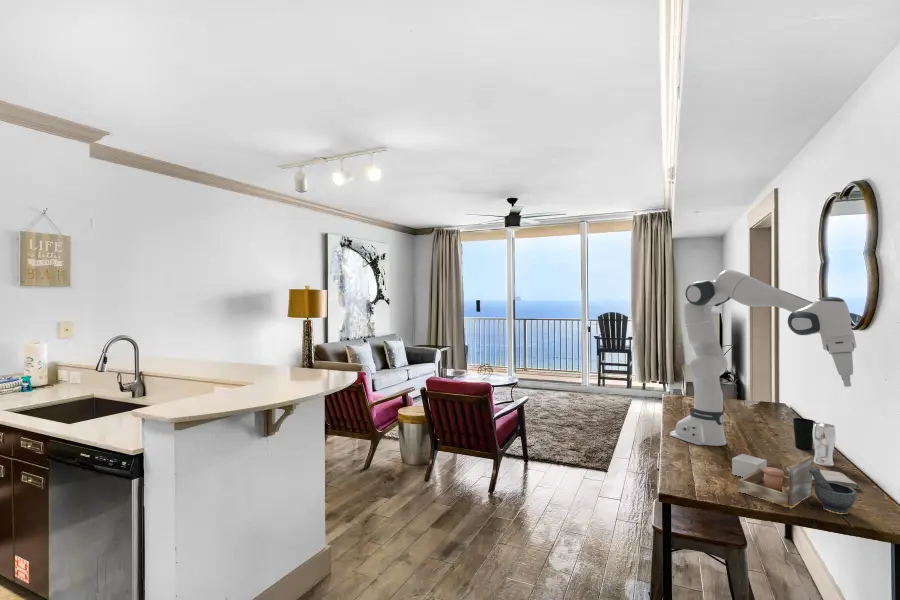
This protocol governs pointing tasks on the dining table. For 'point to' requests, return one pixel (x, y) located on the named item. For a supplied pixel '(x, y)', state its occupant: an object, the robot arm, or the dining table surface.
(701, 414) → the robot arm
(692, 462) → the dining table surface
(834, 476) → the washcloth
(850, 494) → the mortar and pestle
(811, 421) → the cup
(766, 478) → the terracotta pot
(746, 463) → the block
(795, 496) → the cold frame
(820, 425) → the beer glass
